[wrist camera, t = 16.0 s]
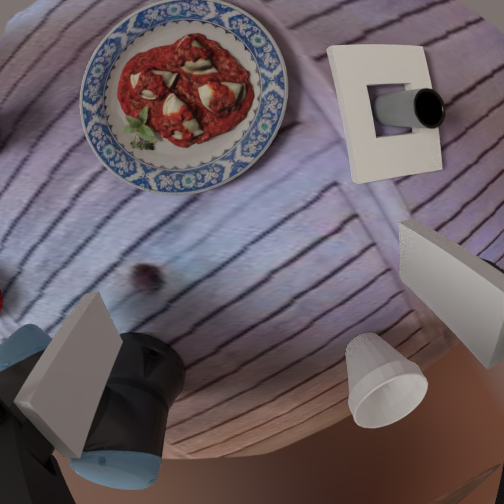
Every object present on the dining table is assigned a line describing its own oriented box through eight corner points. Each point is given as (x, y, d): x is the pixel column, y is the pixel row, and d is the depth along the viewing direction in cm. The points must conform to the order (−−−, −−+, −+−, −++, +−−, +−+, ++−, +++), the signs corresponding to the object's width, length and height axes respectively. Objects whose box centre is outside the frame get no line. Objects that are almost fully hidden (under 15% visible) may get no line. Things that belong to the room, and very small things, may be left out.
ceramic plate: (225, -26, 27) (225, -36, 24) (320, 132, 36) (327, 133, 34) (59, 74, 30) (49, 72, 28) (146, 226, 40) (140, 234, 37)
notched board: (434, 167, 38) (442, 169, 36) (352, 181, 39) (357, 184, 37) (415, 48, 31) (422, 46, 30) (326, 49, 32) (330, 45, 30)
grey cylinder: (386, 132, 36) (429, 137, 27) (366, 106, 35) (406, 102, 25) (406, 113, 35) (452, 114, 26) (387, 87, 34) (430, 80, 24)
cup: (391, 361, 52) (421, 412, 39) (331, 379, 52) (352, 437, 40) (396, 310, 47) (435, 362, 35) (328, 329, 48) (354, 390, 35)
